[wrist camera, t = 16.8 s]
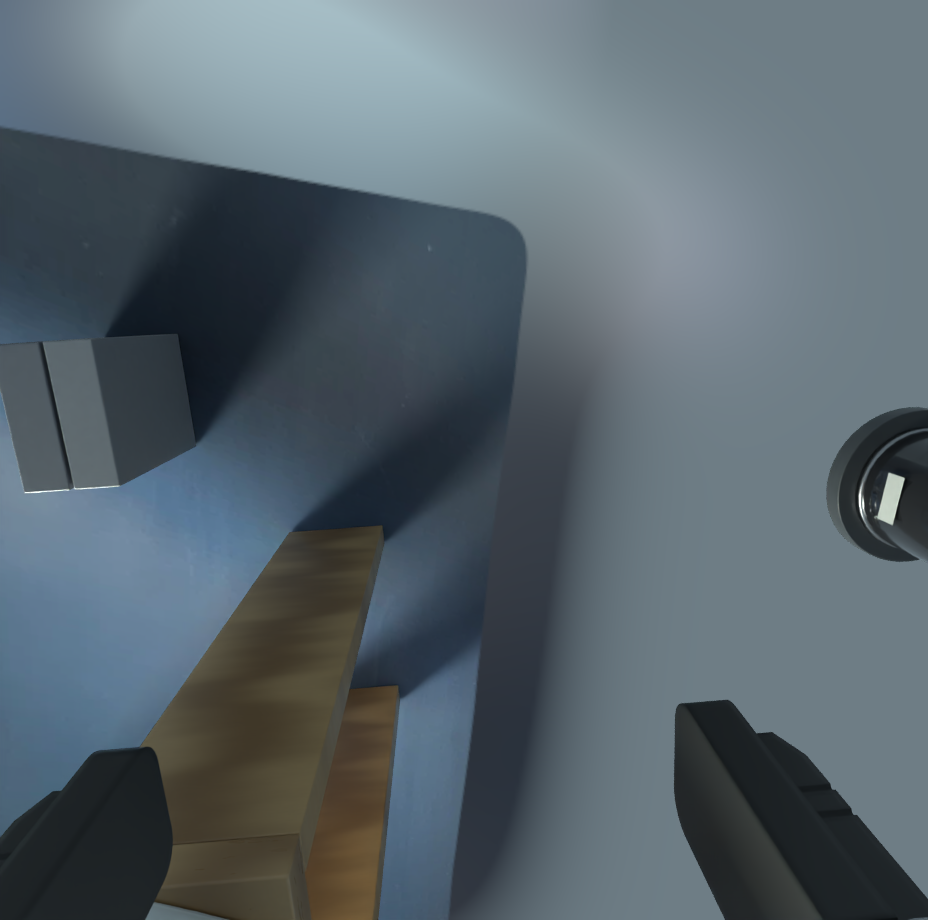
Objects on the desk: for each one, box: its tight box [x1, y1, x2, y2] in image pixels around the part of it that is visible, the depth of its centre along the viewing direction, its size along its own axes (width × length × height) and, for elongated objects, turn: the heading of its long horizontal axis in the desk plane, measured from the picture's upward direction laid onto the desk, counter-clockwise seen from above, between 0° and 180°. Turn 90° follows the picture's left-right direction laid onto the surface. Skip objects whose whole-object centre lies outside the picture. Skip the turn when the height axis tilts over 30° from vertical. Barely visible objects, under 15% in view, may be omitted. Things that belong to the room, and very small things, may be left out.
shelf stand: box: [140, 525, 400, 920], centre depth 34 cm, size 7×15×28 cm, turn 4°
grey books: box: [0, 334, 196, 493], centre depth 38 cm, size 5×8×11 cm, turn 4°
